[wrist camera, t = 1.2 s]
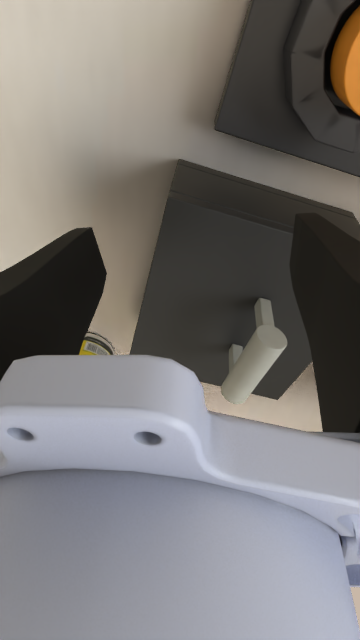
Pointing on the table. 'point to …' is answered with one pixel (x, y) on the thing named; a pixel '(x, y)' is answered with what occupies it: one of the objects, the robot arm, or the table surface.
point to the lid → (223, 300)
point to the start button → (347, 63)
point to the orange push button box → (291, 83)
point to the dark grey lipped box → (254, 197)
